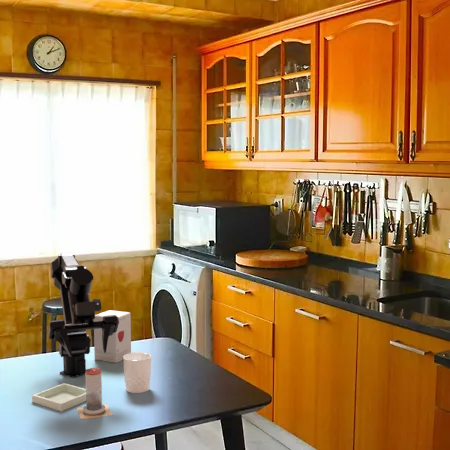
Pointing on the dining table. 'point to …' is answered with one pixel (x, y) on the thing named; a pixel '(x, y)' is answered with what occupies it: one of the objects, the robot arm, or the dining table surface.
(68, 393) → the tray
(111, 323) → the robot arm
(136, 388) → the white cup
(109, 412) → the keeper plate
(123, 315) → the supplement box
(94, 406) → the clear shaker bottle
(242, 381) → the dining table surface
